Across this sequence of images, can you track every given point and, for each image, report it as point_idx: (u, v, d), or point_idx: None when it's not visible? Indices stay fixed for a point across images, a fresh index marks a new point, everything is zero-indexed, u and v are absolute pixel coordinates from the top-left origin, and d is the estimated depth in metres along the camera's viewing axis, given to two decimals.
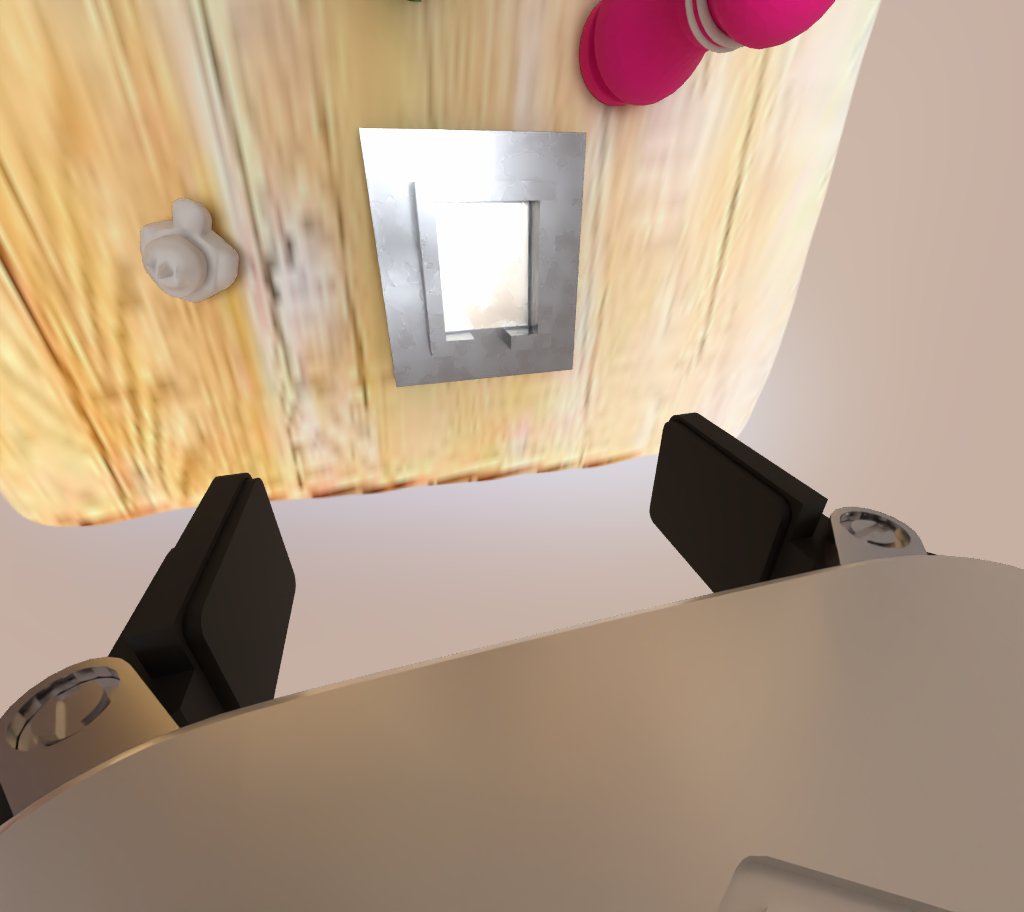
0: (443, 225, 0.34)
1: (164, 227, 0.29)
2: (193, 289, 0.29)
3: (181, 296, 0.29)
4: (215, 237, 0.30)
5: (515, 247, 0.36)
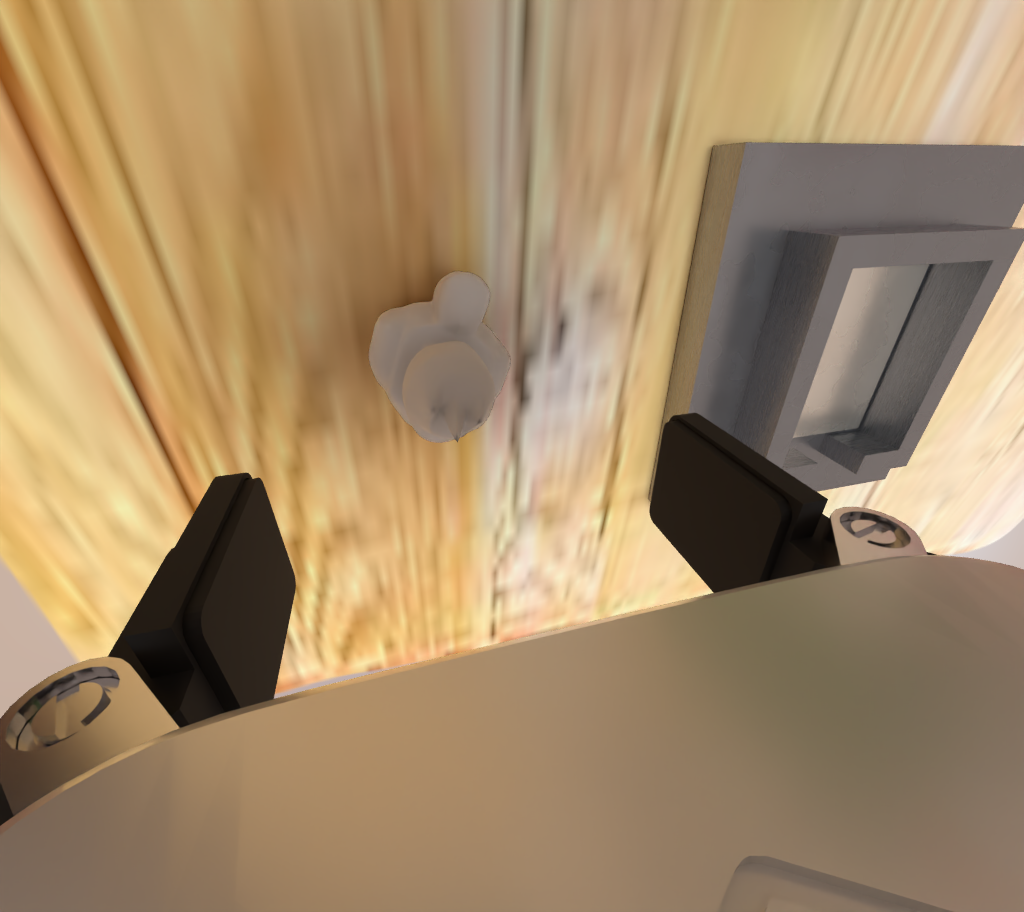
0: None
1: (422, 321, 0.16)
2: None
3: (445, 441, 0.17)
4: (487, 330, 0.18)
5: (888, 324, 0.23)
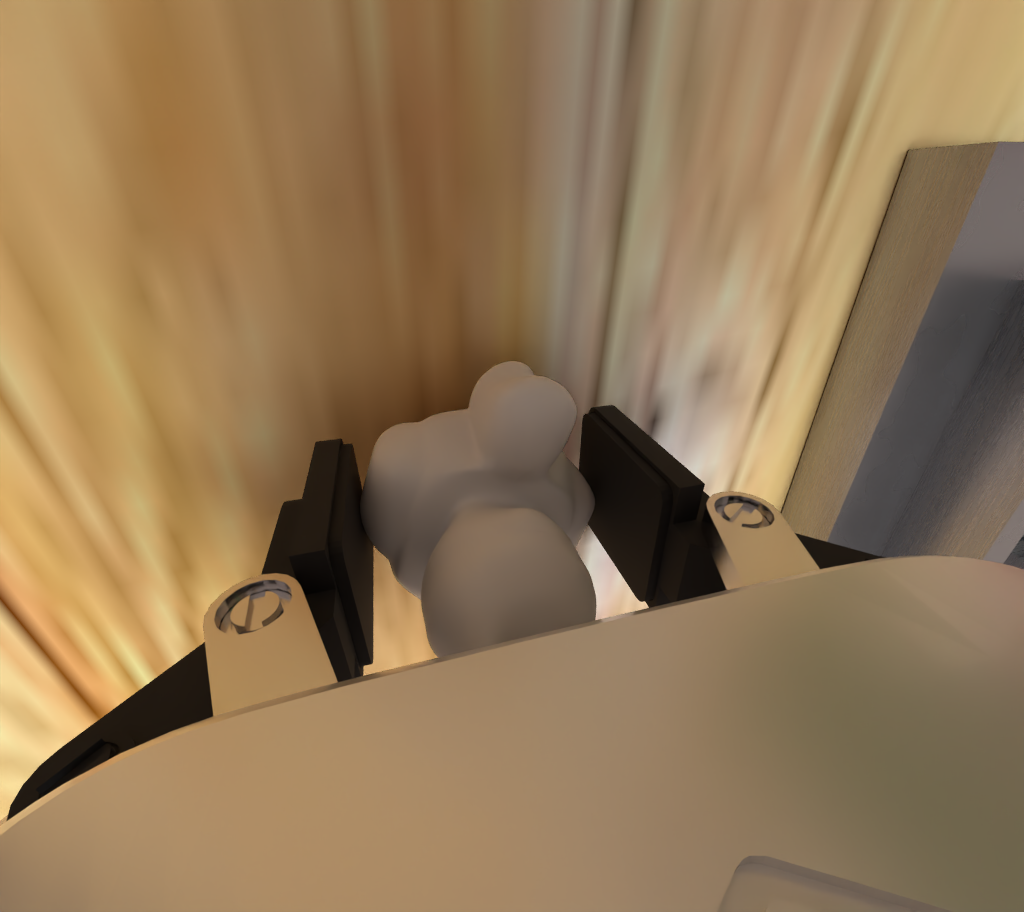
0: None
1: (454, 462, 0.09)
2: None
3: None
4: (559, 456, 0.11)
5: None
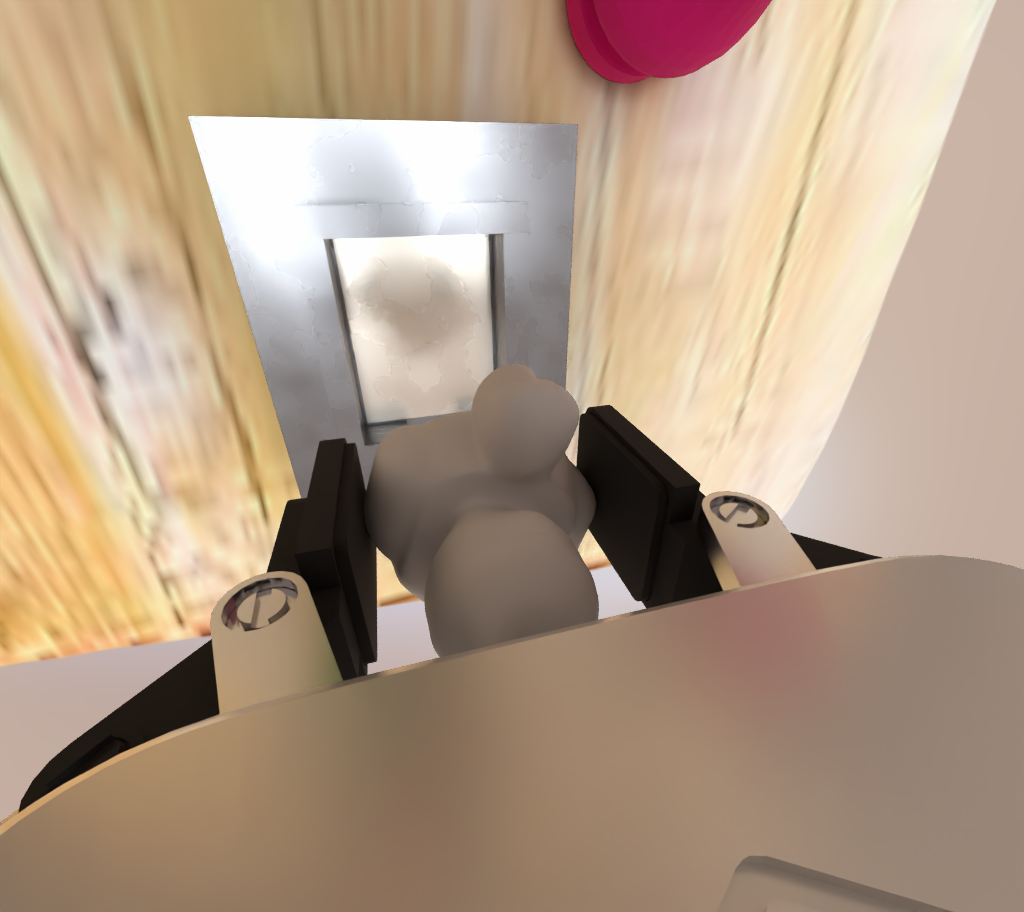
0: (352, 271, 0.21)
1: (457, 465, 0.09)
2: None
3: None
4: (561, 458, 0.11)
5: (471, 301, 0.23)
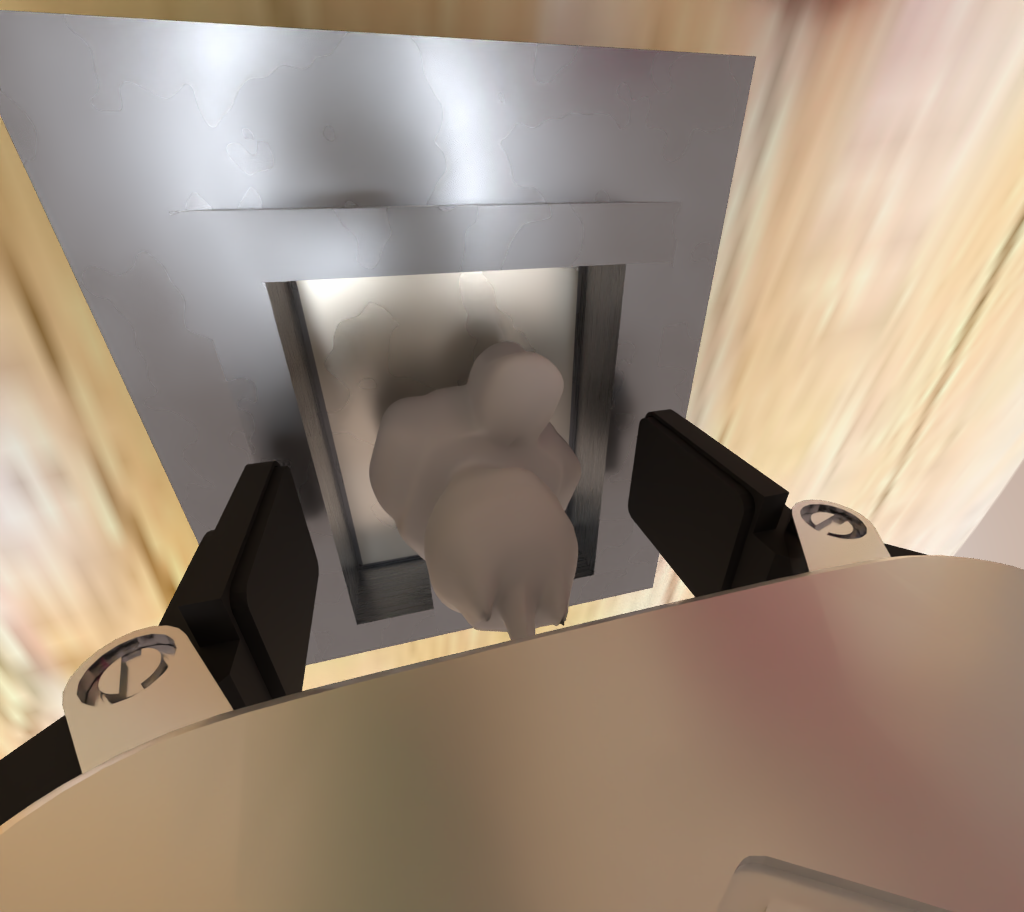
0: (334, 330, 0.12)
1: (454, 429, 0.10)
2: None
3: None
4: (548, 428, 0.12)
5: None
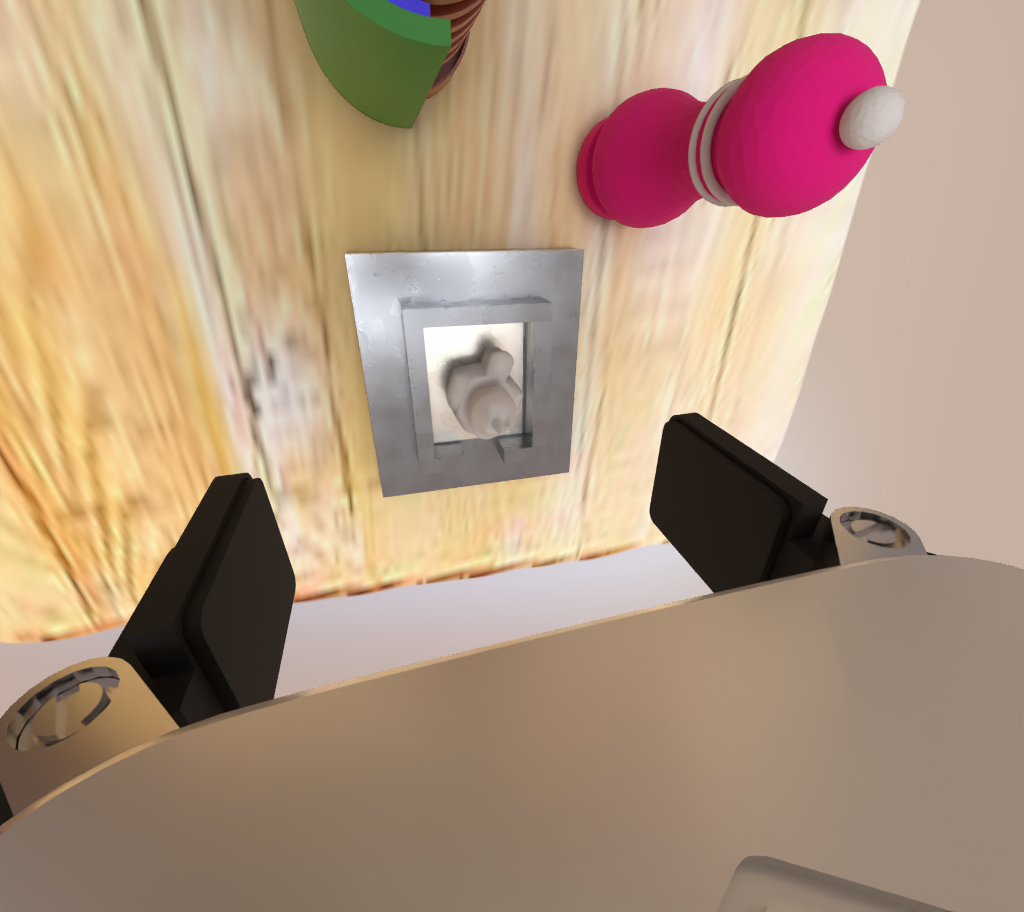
0: (433, 342, 0.32)
1: (477, 375, 0.30)
2: None
3: (488, 438, 0.31)
4: (510, 378, 0.32)
5: None
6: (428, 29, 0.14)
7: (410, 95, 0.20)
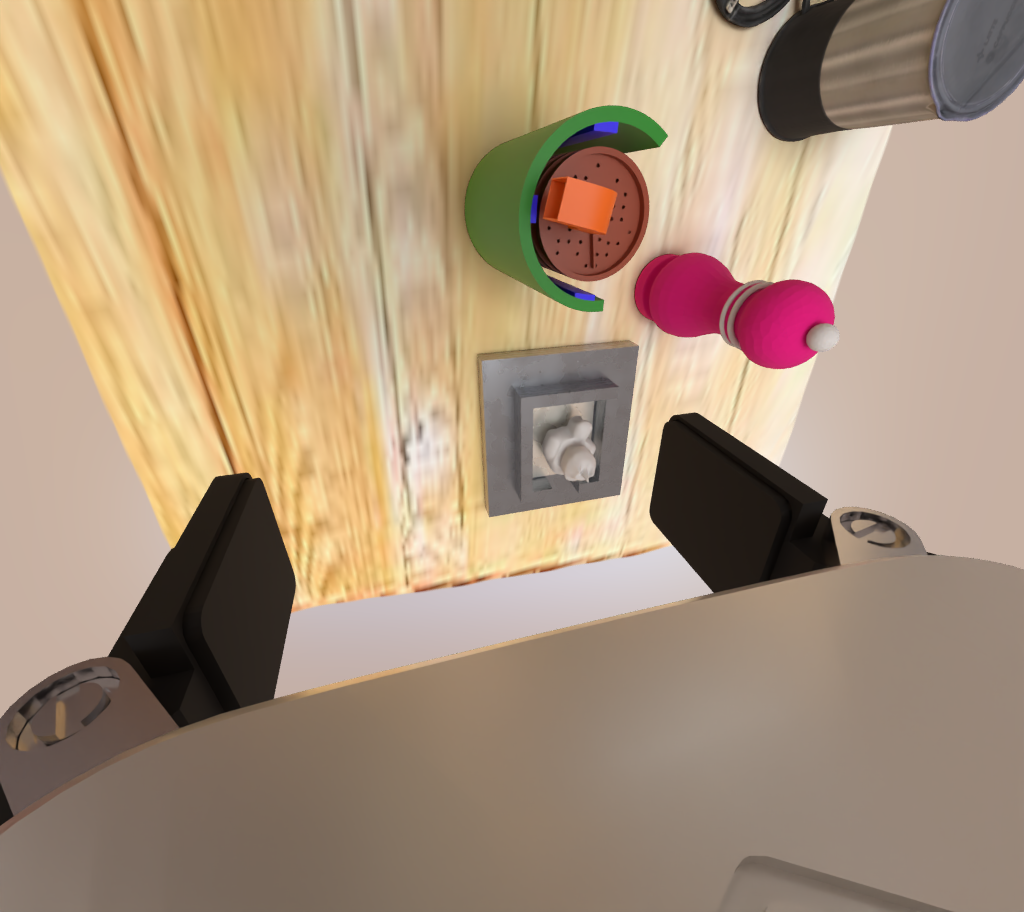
0: (533, 412, 0.46)
1: (567, 437, 0.44)
2: None
3: (574, 480, 0.45)
4: (587, 436, 0.46)
5: None
6: (592, 305, 0.28)
7: None
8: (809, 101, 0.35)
